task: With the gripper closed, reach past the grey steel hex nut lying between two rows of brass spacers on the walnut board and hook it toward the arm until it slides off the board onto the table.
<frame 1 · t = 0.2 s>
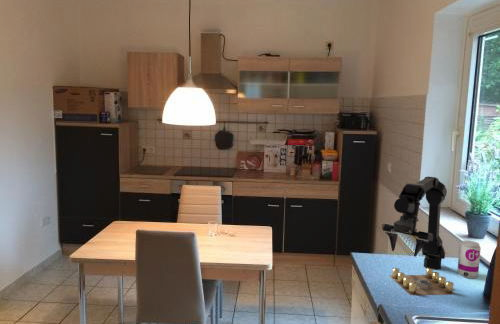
hand: (403, 253, 164), 15 cm above the worktop, tool pointing down, fingers open, 9 cm apart
supplement can: (467, 275, 184), on the worktop
brass spacers: (420, 284, 170), resting on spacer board
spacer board: (420, 286, 170), on the worktop
steel nut: (423, 286, 168), point 1 cm above the worktop, touching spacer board
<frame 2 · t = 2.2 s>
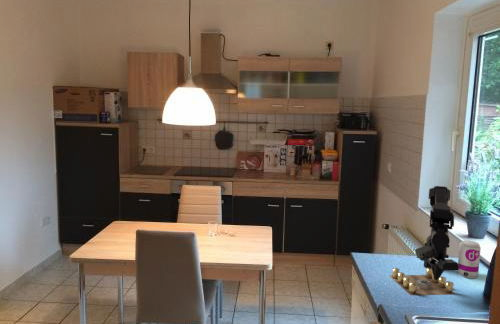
hand: (436, 279, 159), 7 cm above the worktop, tool pointing down, fingers closed
nothing on the worktop moved.
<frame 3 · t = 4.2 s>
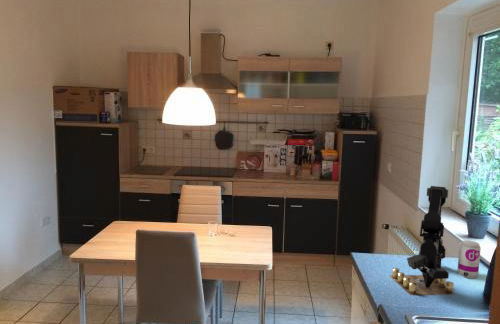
hand: (427, 287, 165), 2 cm above the worktop, tool pointing down, fingers closed
steel nut: (422, 285, 169), point 1 cm above the worktop, touching gripper, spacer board
everything else where it was.
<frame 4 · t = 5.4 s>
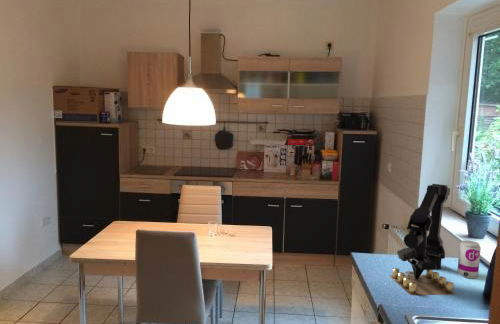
hand: (416, 278, 173), 2 cm above the worktop, tool pointing down, fingers closed
steel nut: (411, 277, 177), point 1 cm above the worktop, touching gripper
everything else where it was.
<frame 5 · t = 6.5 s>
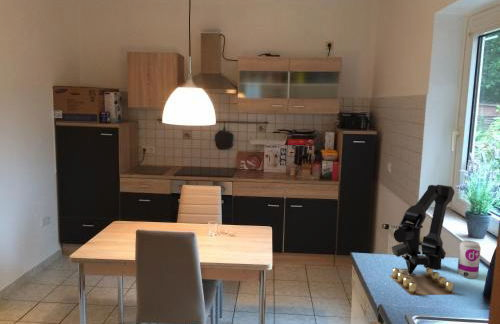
hand: (410, 273, 179), 2 cm above the worktop, tool pointing down, fingers closed
steel nut: (405, 274, 182), on the worktop, tilted 10°, touching gripper, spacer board
everything else where it was.
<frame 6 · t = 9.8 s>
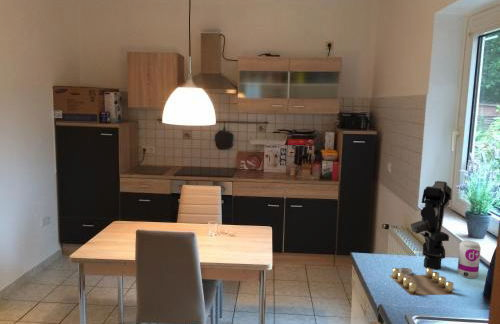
hand: (429, 251, 179), 12 cm above the worktop, tool pointing down, fingers closed
steel nut: (405, 273, 183), on the worktop, tilted 8°, touching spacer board
everything else where it was.
at the end: steel nut inside the target area (2.0 cm from its centre), on the worktop; steel nut tilted 8° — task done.
